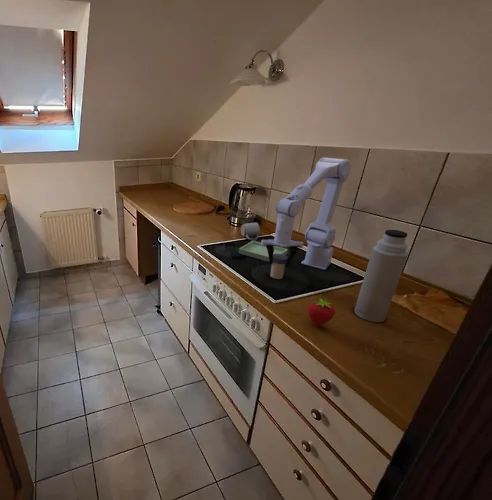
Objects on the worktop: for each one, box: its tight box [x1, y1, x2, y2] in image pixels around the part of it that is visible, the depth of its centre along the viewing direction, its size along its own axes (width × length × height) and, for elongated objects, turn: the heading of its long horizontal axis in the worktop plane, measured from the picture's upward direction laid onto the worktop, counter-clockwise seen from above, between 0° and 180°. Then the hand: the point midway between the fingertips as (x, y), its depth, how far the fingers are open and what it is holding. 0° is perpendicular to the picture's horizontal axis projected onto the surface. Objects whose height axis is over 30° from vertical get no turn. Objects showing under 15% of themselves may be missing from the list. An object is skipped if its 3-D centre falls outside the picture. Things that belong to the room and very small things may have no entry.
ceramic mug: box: [240, 222, 261, 242], centre depth 158 cm, size 11×8×8 cm
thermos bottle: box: [354, 229, 409, 323], centre depth 89 cm, size 8×8×28 cm
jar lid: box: [272, 254, 288, 265], centre depth 117 cm, size 6×6×2 cm
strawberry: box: [306, 297, 336, 327], centre depth 88 cm, size 6×8×10 cm
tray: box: [238, 240, 288, 263], centre depth 140 cm, size 17×14×2 cm
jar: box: [269, 262, 286, 280], centre depth 118 cm, size 5×5×8 cm
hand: (278, 263), depth 117 cm, fingers closed on jar lid, 6 cm apart
